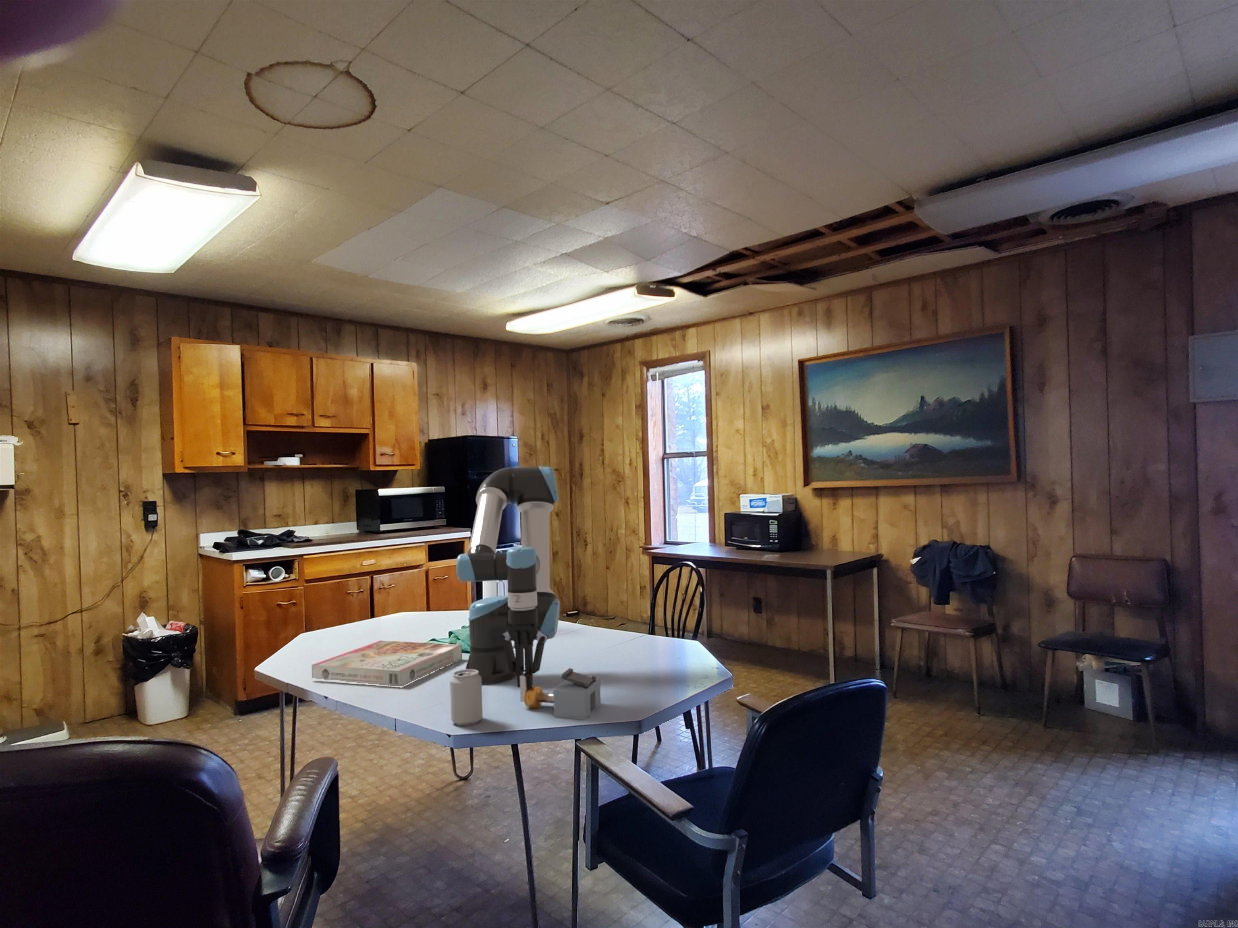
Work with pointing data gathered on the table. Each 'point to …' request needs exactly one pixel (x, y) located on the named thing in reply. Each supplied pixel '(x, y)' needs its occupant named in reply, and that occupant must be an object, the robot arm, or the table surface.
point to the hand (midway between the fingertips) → (525, 699)
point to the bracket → (576, 699)
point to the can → (466, 697)
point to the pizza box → (388, 662)
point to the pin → (537, 697)
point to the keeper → (578, 678)
